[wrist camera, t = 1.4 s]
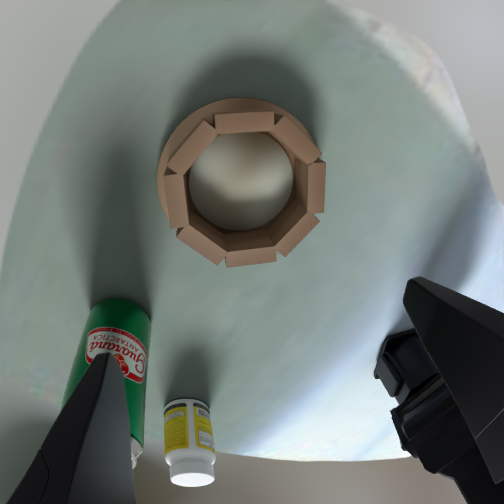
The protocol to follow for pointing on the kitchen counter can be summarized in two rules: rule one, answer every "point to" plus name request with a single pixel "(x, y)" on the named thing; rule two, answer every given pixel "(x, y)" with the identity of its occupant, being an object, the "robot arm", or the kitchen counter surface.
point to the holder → (241, 181)
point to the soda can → (118, 356)
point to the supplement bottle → (189, 442)
